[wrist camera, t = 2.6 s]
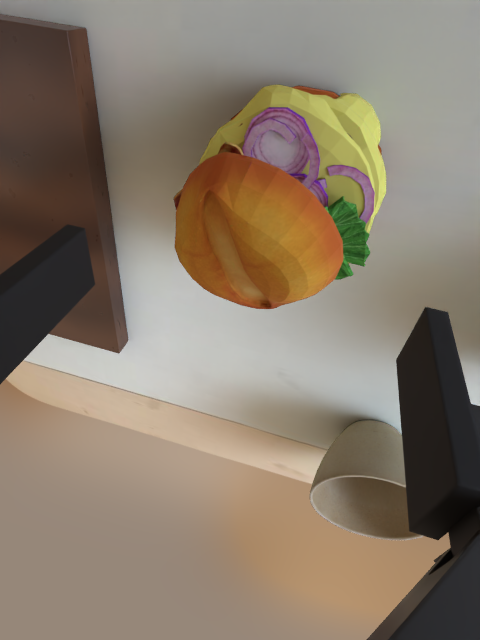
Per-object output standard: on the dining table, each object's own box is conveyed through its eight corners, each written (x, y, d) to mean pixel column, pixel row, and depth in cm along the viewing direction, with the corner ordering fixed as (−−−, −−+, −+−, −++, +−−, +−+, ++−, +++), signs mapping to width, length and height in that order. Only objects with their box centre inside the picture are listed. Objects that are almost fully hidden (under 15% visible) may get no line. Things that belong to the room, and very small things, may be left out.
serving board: (-146, -10, 23) (-178, -11, 21) (86, 27, 21) (66, 30, 19) (-10, 303, 39) (-23, 314, 37) (128, 340, 37) (119, 353, 35)
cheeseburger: (439, 172, 20) (412, 305, 15) (303, 257, 29) (254, 363, 23) (308, 13, 18) (216, 105, 12) (200, 159, 26) (115, 253, 20)
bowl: (429, 401, 31) (440, 483, 26) (431, 469, 37) (440, 548, 32) (309, 400, 35) (298, 472, 30) (327, 462, 41) (320, 531, 36)
